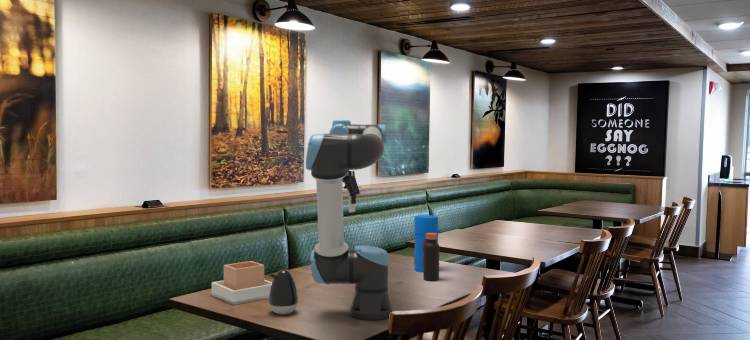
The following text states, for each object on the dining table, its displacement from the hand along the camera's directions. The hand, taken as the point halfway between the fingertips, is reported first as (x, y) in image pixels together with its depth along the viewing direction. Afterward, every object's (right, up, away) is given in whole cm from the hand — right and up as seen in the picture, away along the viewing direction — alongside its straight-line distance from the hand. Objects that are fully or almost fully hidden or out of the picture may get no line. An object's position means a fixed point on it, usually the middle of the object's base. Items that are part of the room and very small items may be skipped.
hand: (341, 210), depth 242 cm
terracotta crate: (-37, -31, -12) cm, 50 cm away
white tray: (-37, -32, -12) cm, 51 cm away
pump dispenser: (-19, -34, -33) cm, 51 cm away
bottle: (+38, -31, +16) cm, 52 cm away
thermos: (+37, -30, +34) cm, 59 cm away
